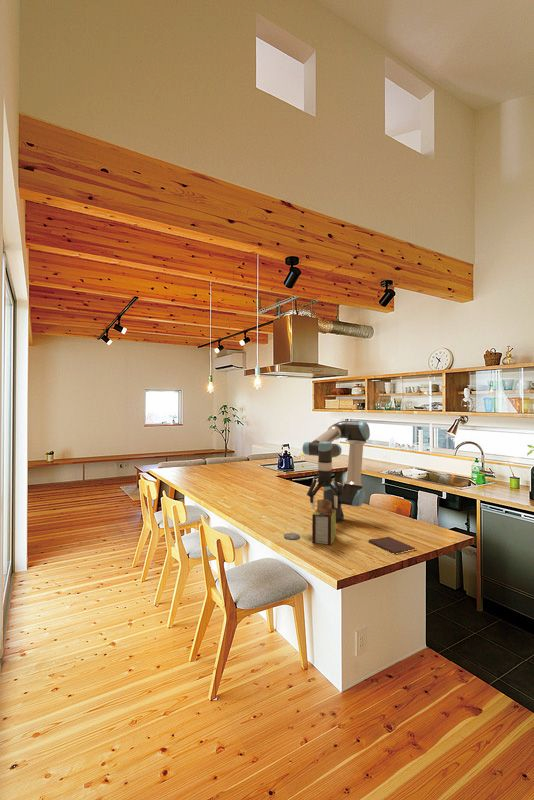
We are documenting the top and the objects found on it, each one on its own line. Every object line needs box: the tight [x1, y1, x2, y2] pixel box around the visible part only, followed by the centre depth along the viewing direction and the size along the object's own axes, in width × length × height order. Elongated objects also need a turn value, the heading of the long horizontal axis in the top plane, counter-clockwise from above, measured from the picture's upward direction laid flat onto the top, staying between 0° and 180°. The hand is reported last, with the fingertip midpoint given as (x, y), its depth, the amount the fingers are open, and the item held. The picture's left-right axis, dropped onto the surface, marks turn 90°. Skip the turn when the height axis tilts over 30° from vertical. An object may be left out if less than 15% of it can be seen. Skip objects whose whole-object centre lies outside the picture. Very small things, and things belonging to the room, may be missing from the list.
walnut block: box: [316, 499, 332, 513], centre depth 218 cm, size 6×6×6 cm
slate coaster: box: [283, 532, 301, 541], centre depth 221 cm, size 9×9×1 cm
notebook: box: [368, 536, 416, 555], centre depth 209 cm, size 15×20×2 cm
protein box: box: [311, 509, 337, 546], centre depth 218 cm, size 10×15×16 cm
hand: (324, 508), depth 218 cm, fingers open, 13 cm apart
